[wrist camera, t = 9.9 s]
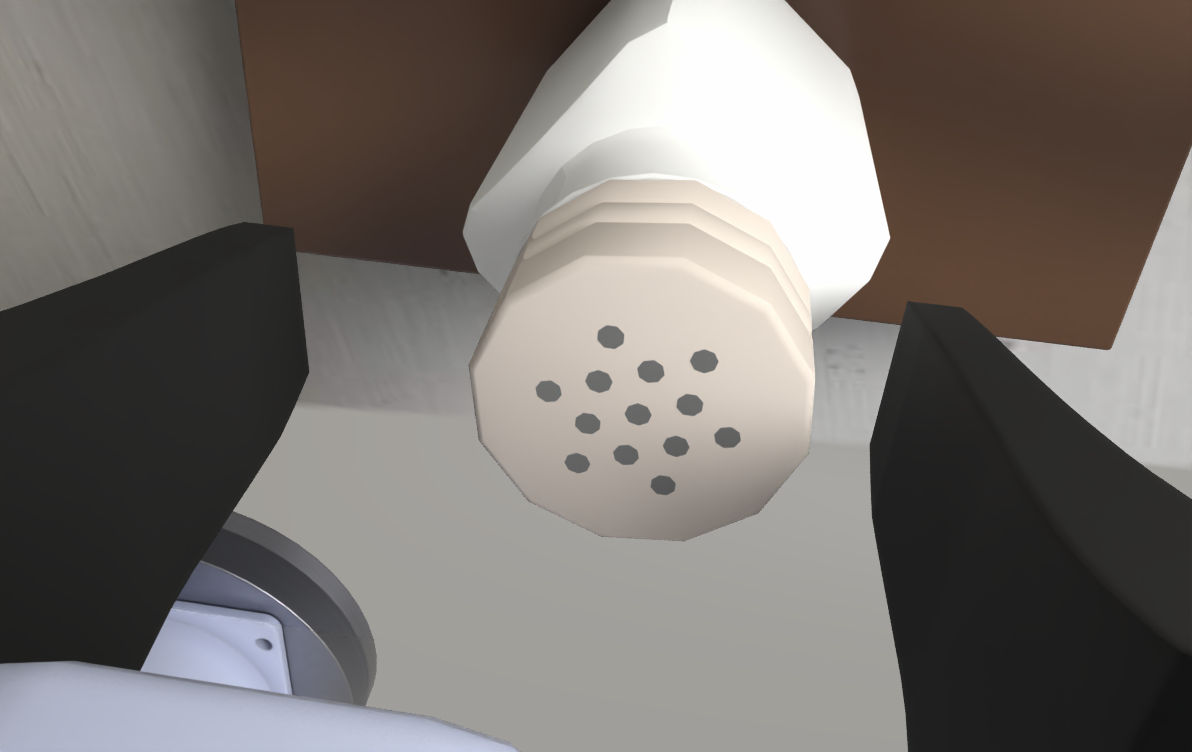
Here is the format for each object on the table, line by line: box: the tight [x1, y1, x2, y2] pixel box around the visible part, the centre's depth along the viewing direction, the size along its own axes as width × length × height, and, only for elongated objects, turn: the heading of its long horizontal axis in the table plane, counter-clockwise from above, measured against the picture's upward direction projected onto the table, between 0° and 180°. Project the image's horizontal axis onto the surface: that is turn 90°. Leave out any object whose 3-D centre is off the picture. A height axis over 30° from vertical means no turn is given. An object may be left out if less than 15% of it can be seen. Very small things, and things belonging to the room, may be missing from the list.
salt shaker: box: [463, 0, 890, 541], centre depth 13 cm, size 4×4×10 cm
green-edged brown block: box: [235, 0, 1192, 350], centre depth 17 cm, size 10×16×7 cm, turn 87°
